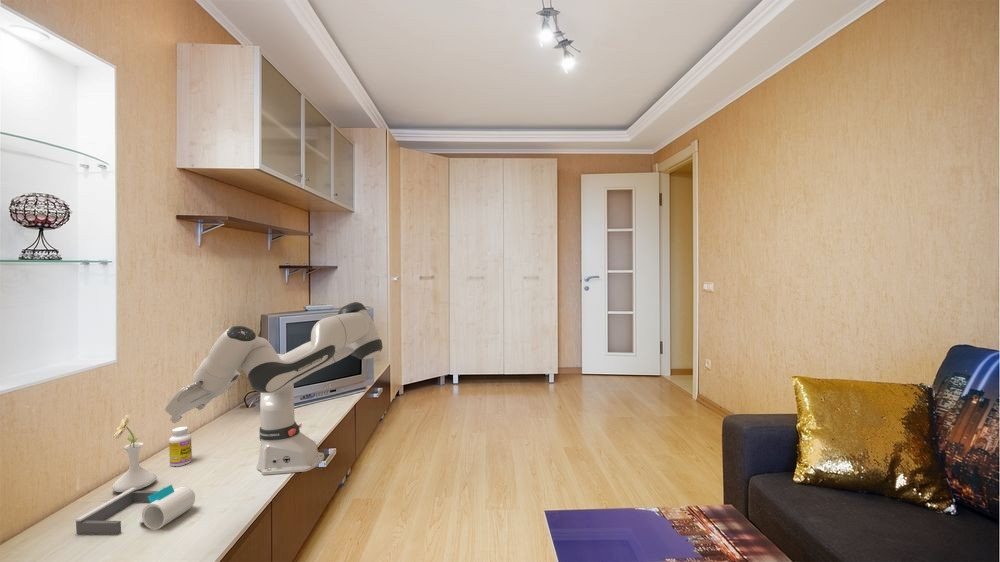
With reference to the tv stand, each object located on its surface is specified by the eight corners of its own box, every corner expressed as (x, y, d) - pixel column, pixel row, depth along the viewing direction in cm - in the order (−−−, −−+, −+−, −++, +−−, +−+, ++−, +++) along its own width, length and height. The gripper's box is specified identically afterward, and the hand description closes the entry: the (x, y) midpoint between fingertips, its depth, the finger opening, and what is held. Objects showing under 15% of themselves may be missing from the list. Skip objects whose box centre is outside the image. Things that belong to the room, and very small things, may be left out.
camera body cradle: (168, 500, 136) (167, 487, 136) (117, 534, 119) (116, 519, 119) (132, 500, 137) (131, 487, 137) (76, 534, 120) (75, 519, 120)
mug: (192, 473, 133) (156, 493, 121) (204, 501, 132) (169, 524, 121) (161, 487, 134) (122, 508, 122) (172, 515, 134) (135, 539, 122)
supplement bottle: (180, 467, 160) (179, 432, 159) (165, 466, 161) (163, 431, 161) (196, 460, 166) (195, 426, 166) (181, 458, 167) (180, 425, 167)
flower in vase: (120, 483, 149) (117, 409, 148) (161, 476, 153) (158, 404, 152) (103, 501, 137) (100, 421, 136) (149, 493, 141) (146, 415, 141)
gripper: (194, 396, 115) (167, 436, 116) (244, 372, 135) (220, 407, 136) (175, 381, 115) (147, 422, 116) (227, 360, 135) (203, 395, 136)
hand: (187, 414), depth 126 cm, fingers open, 8 cm apart
